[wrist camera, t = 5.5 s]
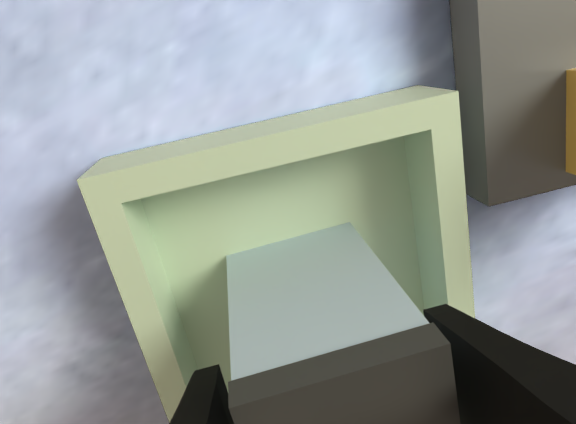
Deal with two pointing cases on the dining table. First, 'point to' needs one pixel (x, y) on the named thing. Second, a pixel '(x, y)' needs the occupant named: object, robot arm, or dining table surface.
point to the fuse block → (516, 95)
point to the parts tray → (280, 214)
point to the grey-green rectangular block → (331, 338)
